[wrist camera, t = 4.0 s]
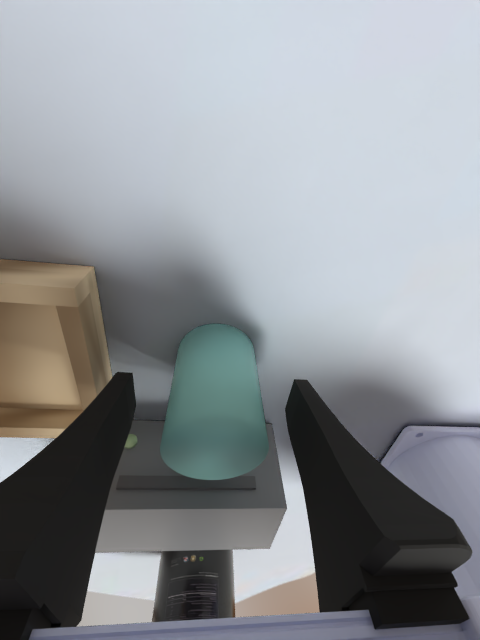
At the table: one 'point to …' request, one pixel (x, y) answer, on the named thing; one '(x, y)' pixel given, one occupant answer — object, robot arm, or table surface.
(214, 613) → the supplement bottle
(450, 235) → the table surface
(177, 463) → the teal peg
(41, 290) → the birch tray
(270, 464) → the gray block
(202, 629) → the robot arm
